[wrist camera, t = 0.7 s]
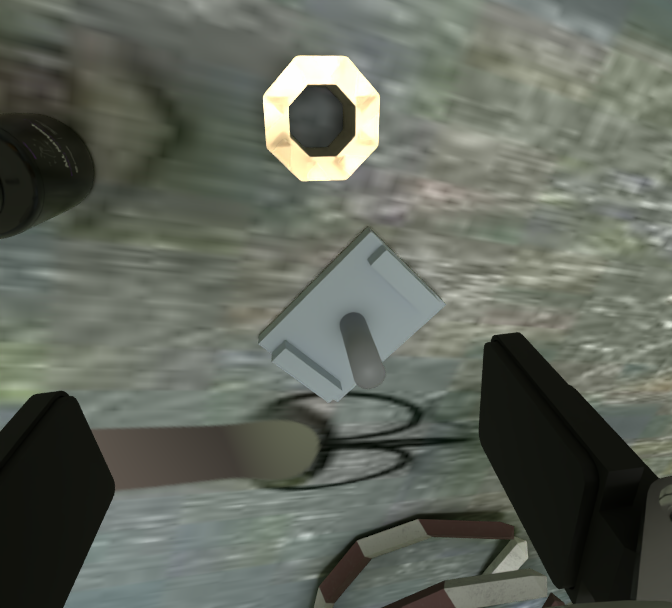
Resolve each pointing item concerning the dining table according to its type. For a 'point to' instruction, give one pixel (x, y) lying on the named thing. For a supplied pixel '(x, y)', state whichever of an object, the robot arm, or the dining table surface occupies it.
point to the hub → (357, 118)
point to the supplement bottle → (39, 171)
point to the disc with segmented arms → (450, 595)
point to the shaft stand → (350, 320)
